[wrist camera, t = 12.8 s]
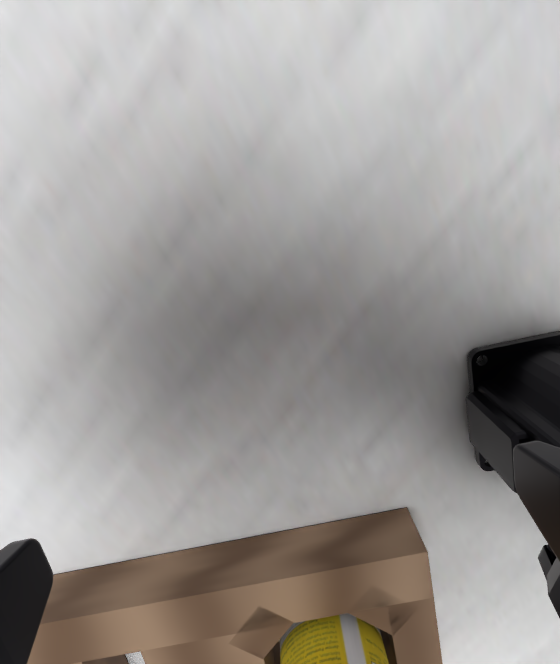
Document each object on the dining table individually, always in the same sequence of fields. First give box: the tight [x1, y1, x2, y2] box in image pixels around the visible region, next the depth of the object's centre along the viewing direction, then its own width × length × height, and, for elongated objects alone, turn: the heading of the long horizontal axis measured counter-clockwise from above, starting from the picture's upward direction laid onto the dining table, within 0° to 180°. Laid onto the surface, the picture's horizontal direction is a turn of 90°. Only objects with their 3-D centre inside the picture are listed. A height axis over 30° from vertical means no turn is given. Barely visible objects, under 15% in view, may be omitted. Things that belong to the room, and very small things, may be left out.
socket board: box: [27, 508, 442, 664], centre depth 23 cm, size 21×12×3 cm, turn 102°
